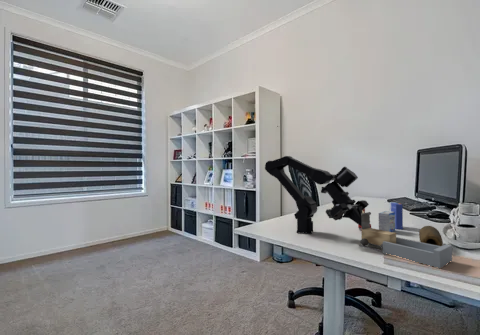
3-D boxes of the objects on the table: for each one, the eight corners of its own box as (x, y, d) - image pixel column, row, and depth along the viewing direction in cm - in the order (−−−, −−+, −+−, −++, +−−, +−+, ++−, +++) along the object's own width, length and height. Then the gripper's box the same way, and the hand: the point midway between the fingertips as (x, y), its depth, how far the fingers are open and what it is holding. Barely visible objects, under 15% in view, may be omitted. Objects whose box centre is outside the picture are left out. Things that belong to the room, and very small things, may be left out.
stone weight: (416, 240, 100) (416, 223, 100) (438, 242, 97) (438, 225, 97) (421, 250, 87) (420, 231, 87) (446, 254, 84) (446, 234, 84)
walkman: (402, 229, 117) (402, 203, 117) (396, 229, 118) (396, 203, 118) (395, 225, 125) (395, 201, 125) (389, 225, 126) (389, 201, 126)
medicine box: (389, 233, 110) (389, 213, 110) (378, 231, 114) (378, 212, 114) (395, 230, 115) (395, 211, 115) (384, 229, 119) (384, 210, 119)
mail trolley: (360, 245, 93) (360, 213, 93) (369, 242, 96) (369, 211, 96) (388, 252, 85) (388, 217, 85) (397, 249, 88) (397, 215, 88)
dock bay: (356, 246, 92) (356, 232, 92) (370, 242, 98) (370, 229, 98) (439, 268, 71) (439, 251, 71) (452, 261, 77) (451, 245, 77)
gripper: (339, 205, 114) (363, 234, 105) (312, 208, 104) (335, 242, 94) (356, 188, 107) (382, 218, 98) (328, 191, 97) (355, 225, 88)
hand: (364, 226), depth 95 cm, fingers closed, pressing on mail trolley
